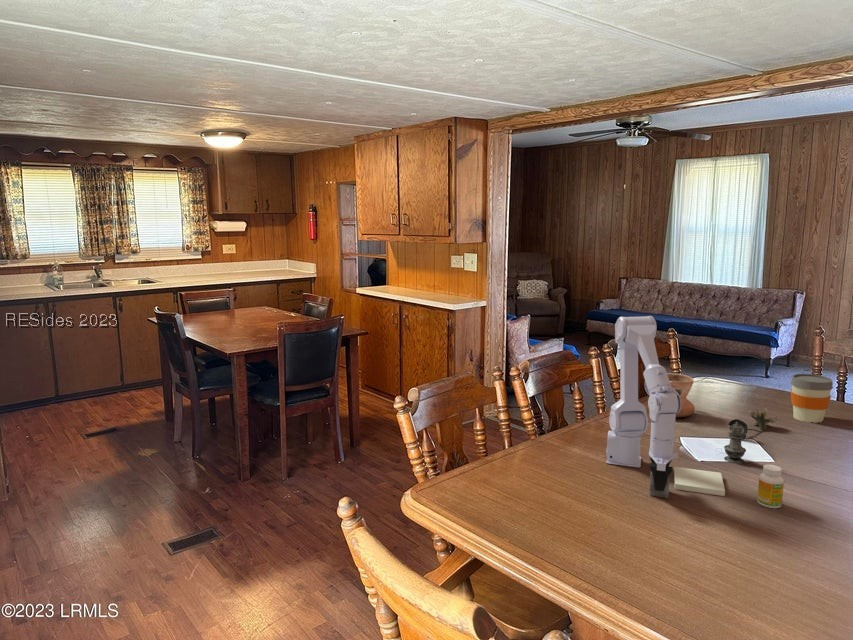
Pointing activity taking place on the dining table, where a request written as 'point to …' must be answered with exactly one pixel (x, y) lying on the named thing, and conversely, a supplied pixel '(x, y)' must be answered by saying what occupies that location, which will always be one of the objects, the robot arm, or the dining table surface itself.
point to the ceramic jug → (682, 392)
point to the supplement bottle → (770, 487)
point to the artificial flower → (760, 421)
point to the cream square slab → (699, 481)
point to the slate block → (659, 493)
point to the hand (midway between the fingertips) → (659, 486)
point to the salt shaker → (735, 445)
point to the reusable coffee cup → (810, 396)
